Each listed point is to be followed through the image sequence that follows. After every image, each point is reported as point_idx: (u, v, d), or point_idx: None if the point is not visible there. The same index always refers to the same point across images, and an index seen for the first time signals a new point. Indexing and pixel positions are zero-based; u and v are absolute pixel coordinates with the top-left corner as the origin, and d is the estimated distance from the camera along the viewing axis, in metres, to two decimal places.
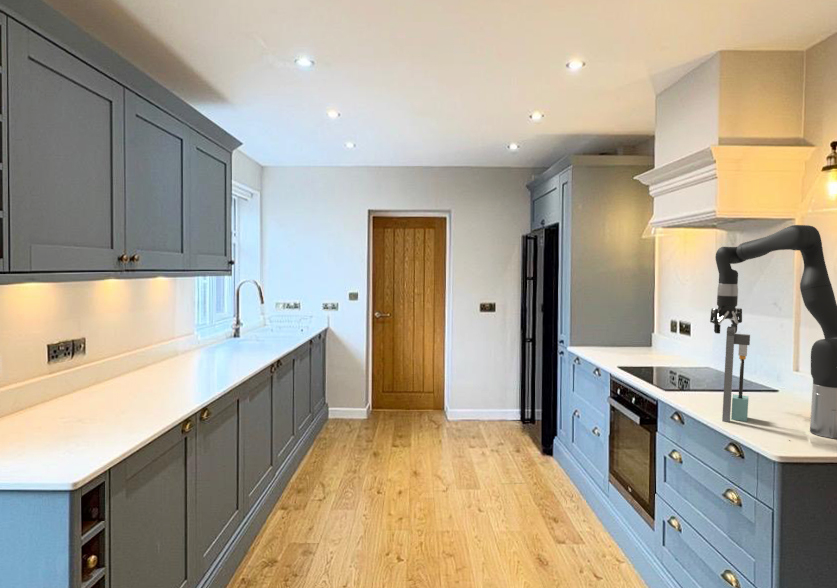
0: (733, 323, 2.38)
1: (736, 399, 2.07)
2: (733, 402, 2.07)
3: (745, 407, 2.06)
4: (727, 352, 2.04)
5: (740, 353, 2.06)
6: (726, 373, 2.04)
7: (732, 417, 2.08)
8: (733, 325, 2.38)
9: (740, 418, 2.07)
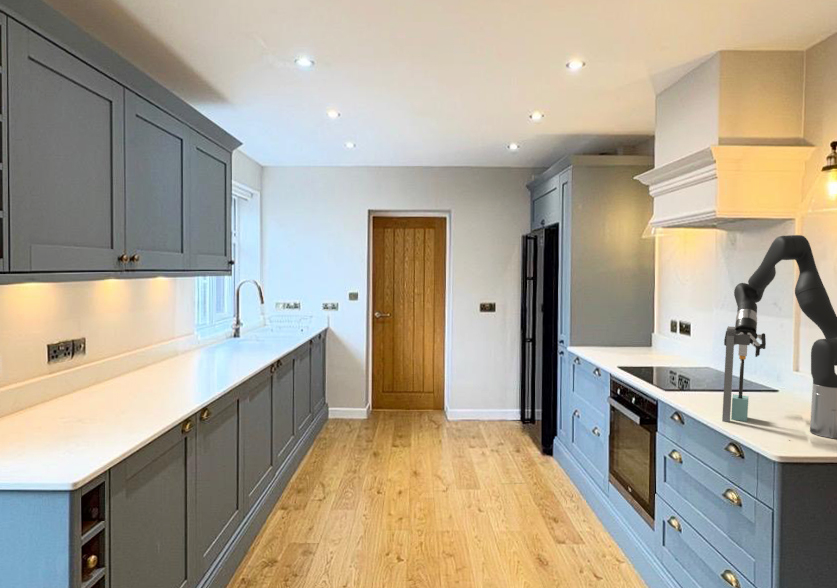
0: (756, 347, 2.22)
1: (736, 399, 2.07)
2: (733, 402, 2.07)
3: (745, 407, 2.06)
4: (727, 352, 2.04)
5: (740, 353, 2.06)
6: (726, 373, 2.04)
7: (732, 417, 2.08)
8: None
9: (740, 418, 2.07)
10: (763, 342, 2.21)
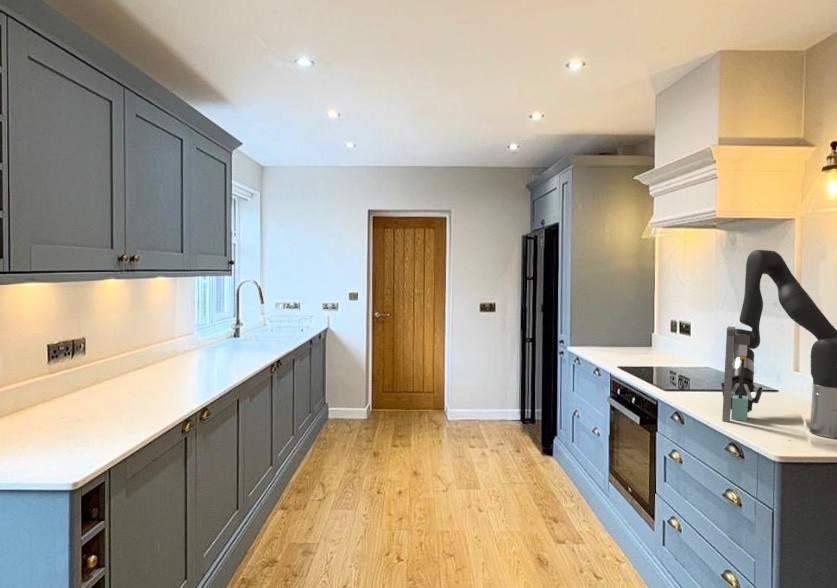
0: None
1: (736, 399, 2.07)
2: (733, 402, 2.07)
3: (745, 407, 2.06)
4: (727, 352, 2.04)
5: (740, 353, 2.06)
6: (726, 373, 2.04)
7: (732, 417, 2.08)
8: (748, 403, 2.09)
9: (740, 418, 2.07)
10: (756, 396, 2.08)
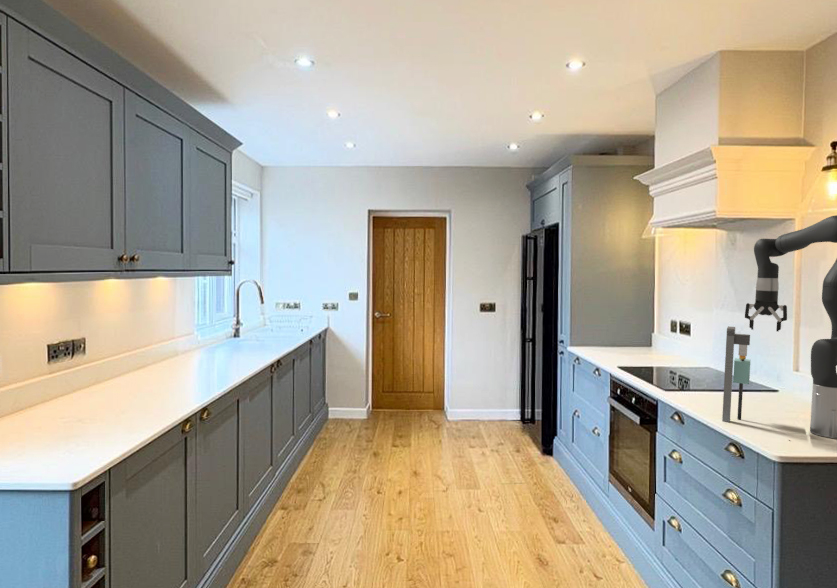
0: (777, 321, 2.22)
1: (738, 362, 2.06)
2: (735, 365, 2.07)
3: (747, 370, 2.05)
4: (727, 352, 2.04)
5: (740, 353, 2.06)
6: (726, 373, 2.04)
7: (734, 380, 2.07)
8: None
9: (742, 381, 2.06)
10: (784, 317, 2.19)
